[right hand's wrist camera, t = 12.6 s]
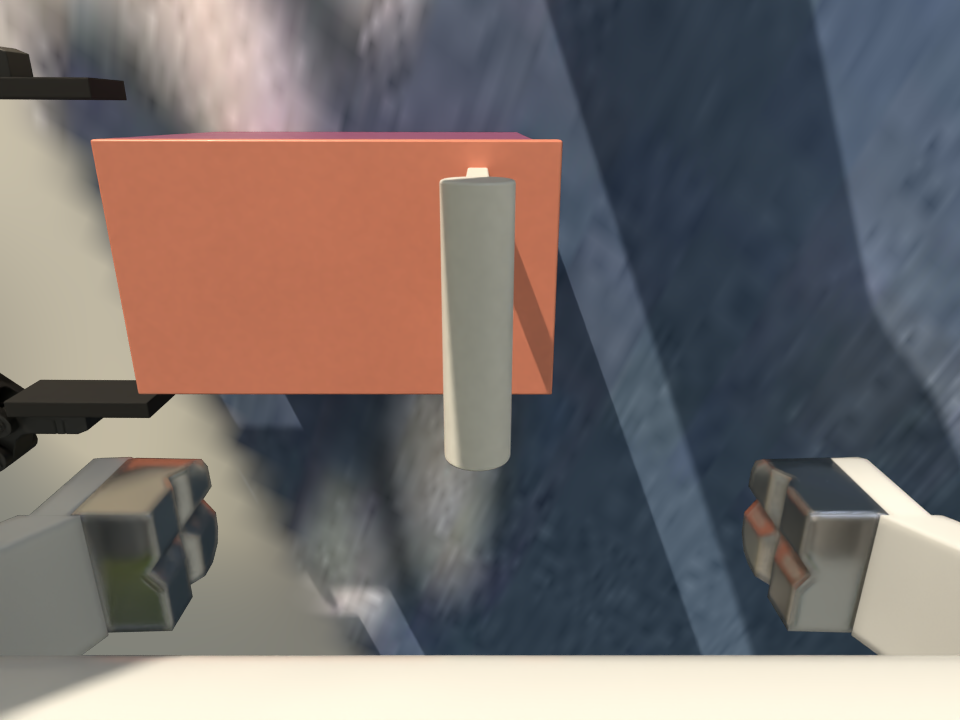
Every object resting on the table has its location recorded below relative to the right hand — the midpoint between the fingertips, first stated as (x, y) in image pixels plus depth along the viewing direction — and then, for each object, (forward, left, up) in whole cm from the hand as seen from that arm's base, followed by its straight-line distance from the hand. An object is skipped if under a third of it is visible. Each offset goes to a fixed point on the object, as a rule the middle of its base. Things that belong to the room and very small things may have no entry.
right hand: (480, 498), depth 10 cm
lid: (+2, +5, -16) cm, 17 cm away
